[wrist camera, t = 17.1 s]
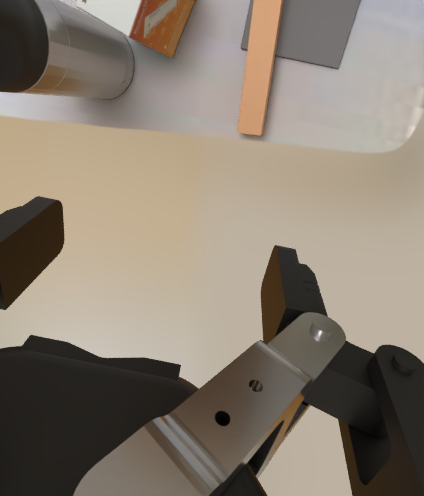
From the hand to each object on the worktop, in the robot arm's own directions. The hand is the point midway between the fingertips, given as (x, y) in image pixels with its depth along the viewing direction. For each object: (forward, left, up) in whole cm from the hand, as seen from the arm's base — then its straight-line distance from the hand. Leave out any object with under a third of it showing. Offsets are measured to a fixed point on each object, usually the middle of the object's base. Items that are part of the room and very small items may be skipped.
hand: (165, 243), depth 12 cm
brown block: (-1, +13, -34) cm, 37 cm away
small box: (-16, +13, -37) cm, 42 cm away
